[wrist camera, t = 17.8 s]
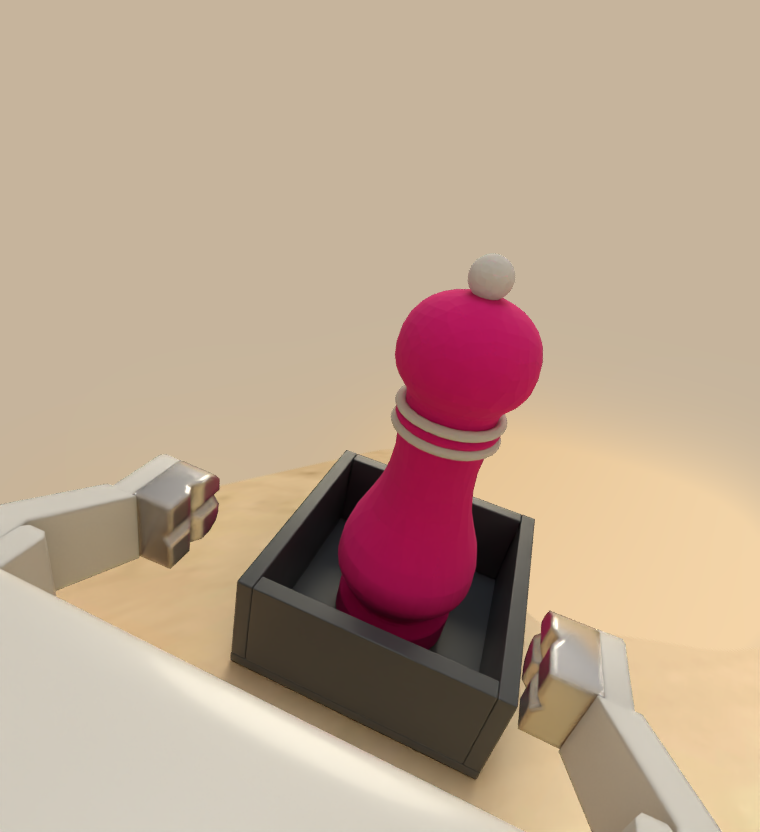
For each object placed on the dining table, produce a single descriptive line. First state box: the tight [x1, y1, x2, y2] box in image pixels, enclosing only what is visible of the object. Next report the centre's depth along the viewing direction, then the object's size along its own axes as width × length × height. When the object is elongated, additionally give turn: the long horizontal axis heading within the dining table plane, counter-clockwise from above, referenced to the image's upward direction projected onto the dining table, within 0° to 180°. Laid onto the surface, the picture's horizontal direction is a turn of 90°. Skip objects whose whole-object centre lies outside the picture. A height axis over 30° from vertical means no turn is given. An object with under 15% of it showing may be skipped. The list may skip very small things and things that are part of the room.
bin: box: [231, 450, 535, 779], centre depth 27 cm, size 13×13×6 cm
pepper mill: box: [336, 254, 543, 650], centre depth 23 cm, size 7×7×20 cm
